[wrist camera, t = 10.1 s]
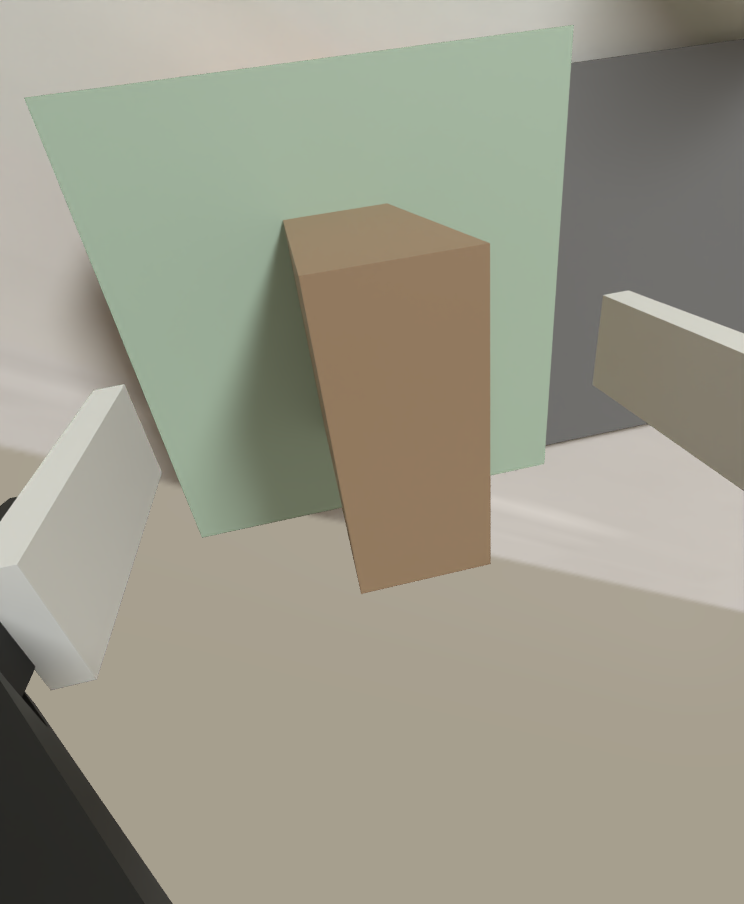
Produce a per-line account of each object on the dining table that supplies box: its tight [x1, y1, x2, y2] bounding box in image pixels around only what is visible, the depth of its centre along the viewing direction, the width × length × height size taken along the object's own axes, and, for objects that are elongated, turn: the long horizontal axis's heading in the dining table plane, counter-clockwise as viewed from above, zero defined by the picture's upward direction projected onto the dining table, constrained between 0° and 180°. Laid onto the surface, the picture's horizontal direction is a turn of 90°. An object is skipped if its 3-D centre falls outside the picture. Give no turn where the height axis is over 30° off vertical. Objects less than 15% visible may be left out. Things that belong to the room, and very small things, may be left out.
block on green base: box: [24, 25, 574, 594], centre depth 15 cm, size 16×16×10 cm
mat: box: [546, 39, 744, 445], centre depth 27 cm, size 19×19×1 cm
